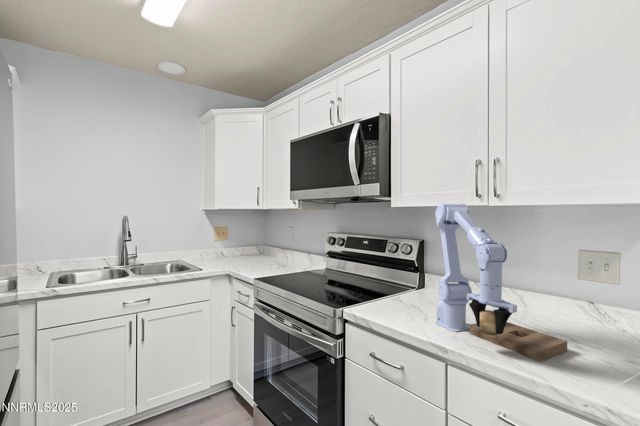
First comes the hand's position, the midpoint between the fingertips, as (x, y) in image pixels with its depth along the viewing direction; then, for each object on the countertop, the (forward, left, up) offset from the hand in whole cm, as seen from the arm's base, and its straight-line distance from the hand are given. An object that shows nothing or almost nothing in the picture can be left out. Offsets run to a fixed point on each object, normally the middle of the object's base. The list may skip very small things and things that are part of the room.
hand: (489, 329), depth 95 cm
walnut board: (0, +13, -6) cm, 14 cm away
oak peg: (0, 0, -3) cm, 3 cm away
